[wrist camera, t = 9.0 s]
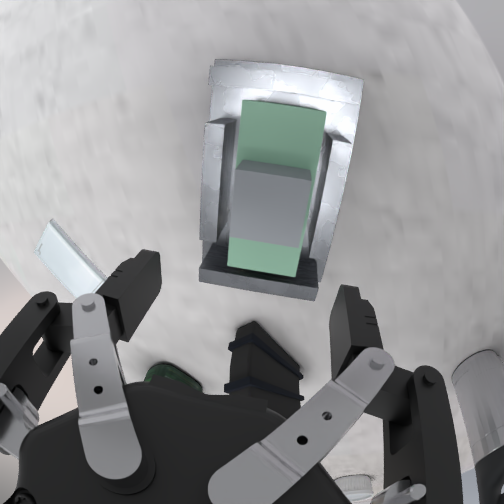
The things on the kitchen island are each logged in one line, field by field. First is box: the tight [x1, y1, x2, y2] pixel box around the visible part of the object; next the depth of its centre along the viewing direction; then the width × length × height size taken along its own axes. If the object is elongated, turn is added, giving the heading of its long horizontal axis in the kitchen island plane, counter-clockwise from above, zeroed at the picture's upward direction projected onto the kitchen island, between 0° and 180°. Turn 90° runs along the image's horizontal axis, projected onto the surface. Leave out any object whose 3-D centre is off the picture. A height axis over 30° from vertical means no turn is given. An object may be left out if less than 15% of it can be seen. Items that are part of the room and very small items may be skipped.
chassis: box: [199, 59, 364, 301], centre depth 25 cm, size 21×13×6 cm, turn 174°
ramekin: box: [335, 475, 373, 502], centre depth 64 cm, size 13×13×7 cm
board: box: [227, 100, 327, 277], centre depth 22 cm, size 14×6×5 cm, turn 174°
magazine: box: [224, 322, 304, 419], centre depth 35 cm, size 4×13×15 cm, turn 38°
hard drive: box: [34, 219, 108, 299], centre depth 38 cm, size 2×8×12 cm
